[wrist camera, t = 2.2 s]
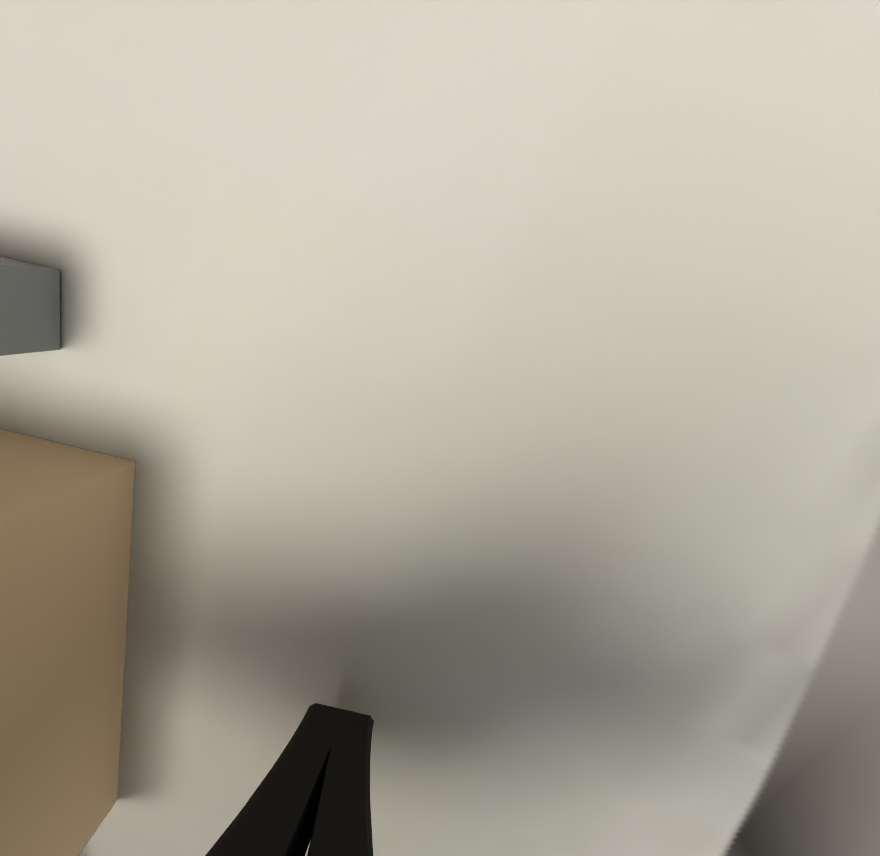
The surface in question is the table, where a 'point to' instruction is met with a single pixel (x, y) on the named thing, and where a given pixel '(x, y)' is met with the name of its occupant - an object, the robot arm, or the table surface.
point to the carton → (60, 640)
